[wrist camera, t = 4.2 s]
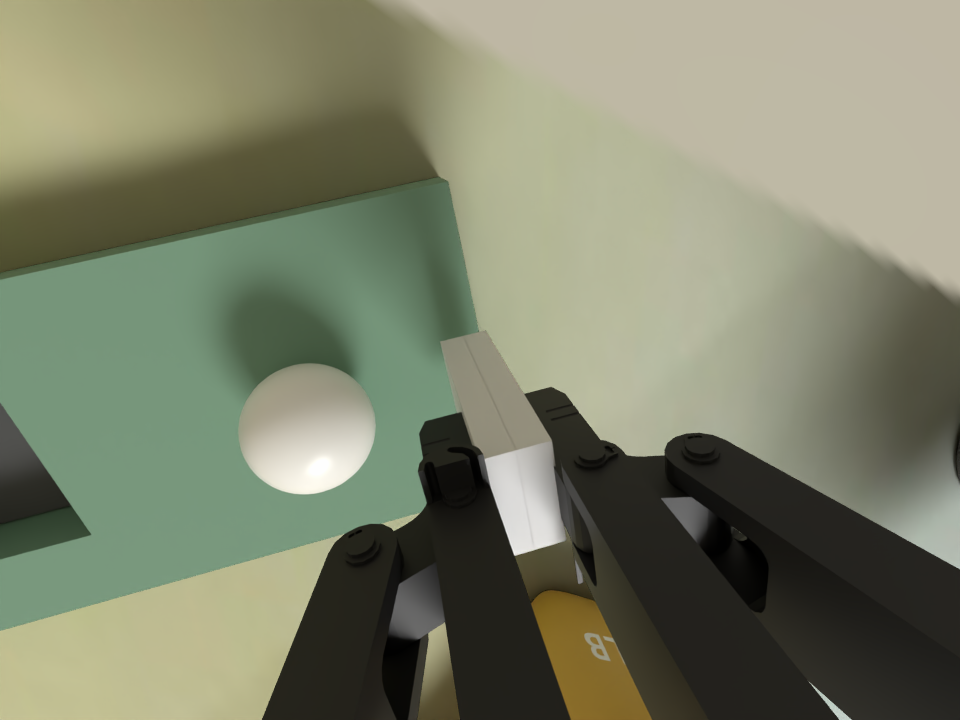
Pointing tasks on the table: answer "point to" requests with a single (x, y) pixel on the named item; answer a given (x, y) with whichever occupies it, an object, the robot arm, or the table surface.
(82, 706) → the table surface
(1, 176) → the table surface
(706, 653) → the robot arm
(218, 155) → the table surface
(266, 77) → the table surface
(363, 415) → the ball
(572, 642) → the dumbbell
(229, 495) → the green
